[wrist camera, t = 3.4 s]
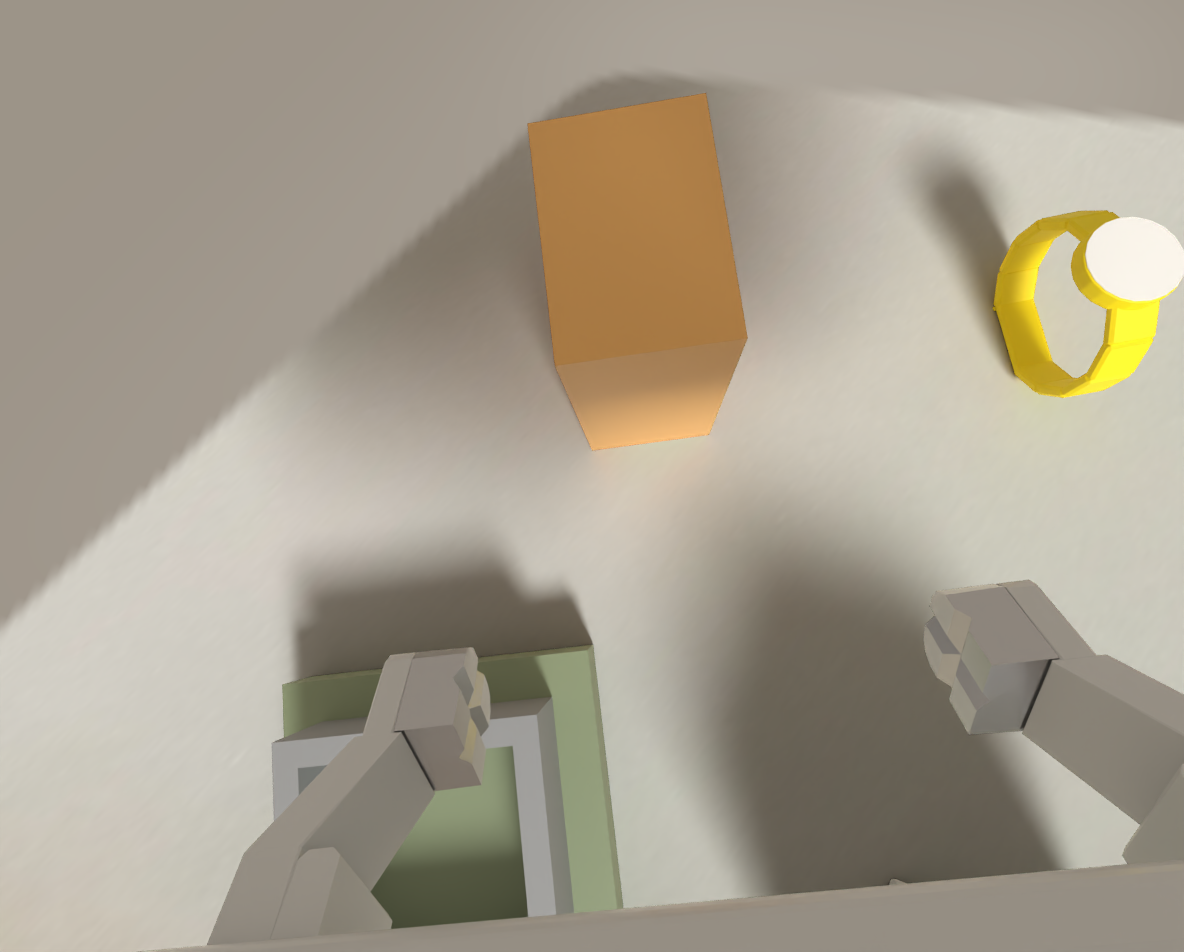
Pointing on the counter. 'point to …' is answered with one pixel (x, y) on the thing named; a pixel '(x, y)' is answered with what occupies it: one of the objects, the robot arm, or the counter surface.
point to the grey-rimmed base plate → (485, 794)
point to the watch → (1089, 295)
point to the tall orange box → (638, 269)
